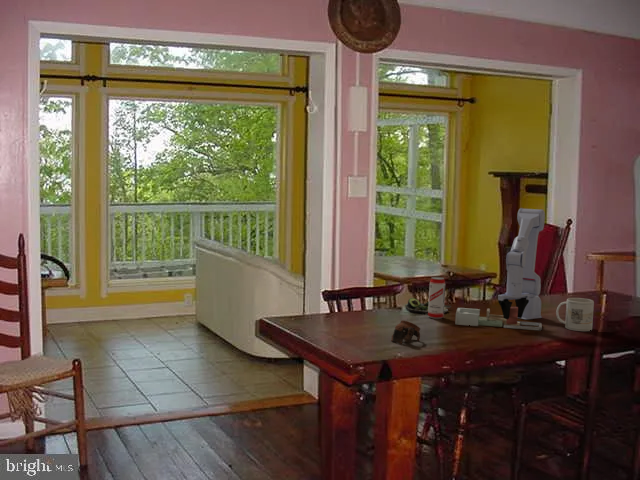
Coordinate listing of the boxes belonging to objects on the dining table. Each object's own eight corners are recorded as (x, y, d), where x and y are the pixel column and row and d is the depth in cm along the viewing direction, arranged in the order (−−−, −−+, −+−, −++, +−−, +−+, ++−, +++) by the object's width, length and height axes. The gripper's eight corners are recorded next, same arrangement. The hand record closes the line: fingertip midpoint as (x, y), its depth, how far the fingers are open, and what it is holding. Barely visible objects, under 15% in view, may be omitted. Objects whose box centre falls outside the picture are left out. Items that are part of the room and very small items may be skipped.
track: (541, 325, 296) (541, 320, 296) (541, 330, 287) (542, 325, 287) (477, 320, 302) (478, 315, 302) (476, 325, 293) (476, 320, 293)
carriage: (519, 324, 297) (520, 306, 296) (519, 327, 291) (520, 309, 290) (486, 321, 300) (487, 304, 299) (486, 324, 294) (486, 307, 293)
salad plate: (445, 306, 333) (445, 296, 332) (457, 315, 315) (458, 303, 315) (401, 306, 330) (401, 296, 330) (411, 315, 312) (412, 303, 312)
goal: (479, 320, 303) (479, 309, 302) (477, 326, 292) (478, 314, 292) (457, 318, 305) (457, 307, 305) (455, 324, 294) (455, 312, 294)
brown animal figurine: (385, 340, 267) (394, 319, 269) (409, 352, 268) (418, 330, 270) (396, 339, 256) (406, 317, 258) (421, 351, 257) (430, 329, 259)
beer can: (442, 319, 303) (445, 279, 301) (426, 318, 304) (429, 278, 302) (444, 316, 309) (446, 277, 307) (428, 315, 310) (430, 276, 308)
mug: (577, 332, 286) (579, 303, 285) (553, 326, 296) (555, 297, 295) (597, 330, 291) (599, 301, 290) (573, 323, 301) (575, 296, 300)
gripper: (520, 280, 300) (518, 314, 301) (493, 282, 292) (491, 317, 294) (534, 283, 294) (532, 318, 295) (506, 285, 286) (504, 320, 288)
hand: (512, 318), depth 294 cm, fingers open, 6 cm apart
